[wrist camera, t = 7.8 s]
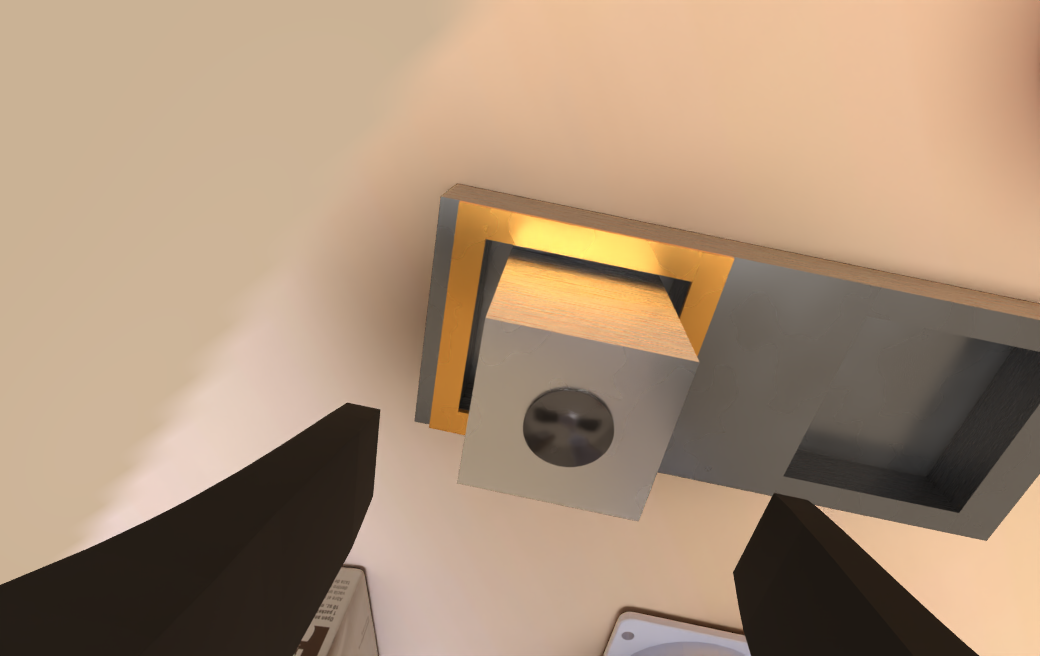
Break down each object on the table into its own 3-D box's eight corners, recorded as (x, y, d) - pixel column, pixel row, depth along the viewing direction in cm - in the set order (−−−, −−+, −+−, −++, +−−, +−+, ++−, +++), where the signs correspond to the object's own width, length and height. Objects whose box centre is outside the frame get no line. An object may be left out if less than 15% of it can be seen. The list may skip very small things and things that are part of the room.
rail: (944, 494, 18) (990, 544, 16) (430, 387, 18) (413, 424, 16) (1074, 310, 15) (1151, 344, 13) (456, 183, 15) (439, 197, 13)
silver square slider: (616, 380, 17) (639, 524, 11) (494, 355, 17) (456, 486, 11) (653, 263, 15) (700, 365, 9) (516, 235, 15) (484, 319, 9)
